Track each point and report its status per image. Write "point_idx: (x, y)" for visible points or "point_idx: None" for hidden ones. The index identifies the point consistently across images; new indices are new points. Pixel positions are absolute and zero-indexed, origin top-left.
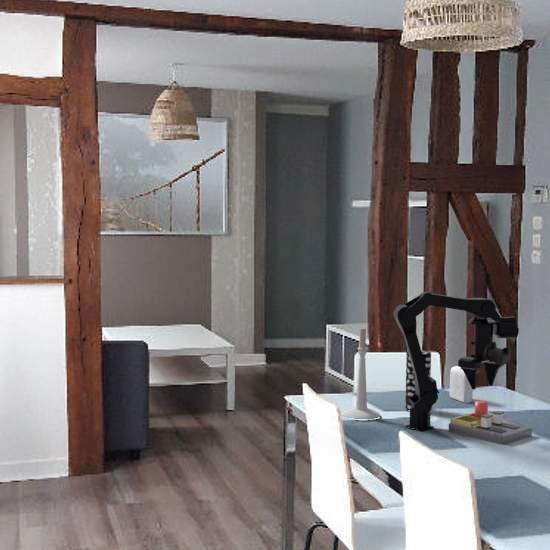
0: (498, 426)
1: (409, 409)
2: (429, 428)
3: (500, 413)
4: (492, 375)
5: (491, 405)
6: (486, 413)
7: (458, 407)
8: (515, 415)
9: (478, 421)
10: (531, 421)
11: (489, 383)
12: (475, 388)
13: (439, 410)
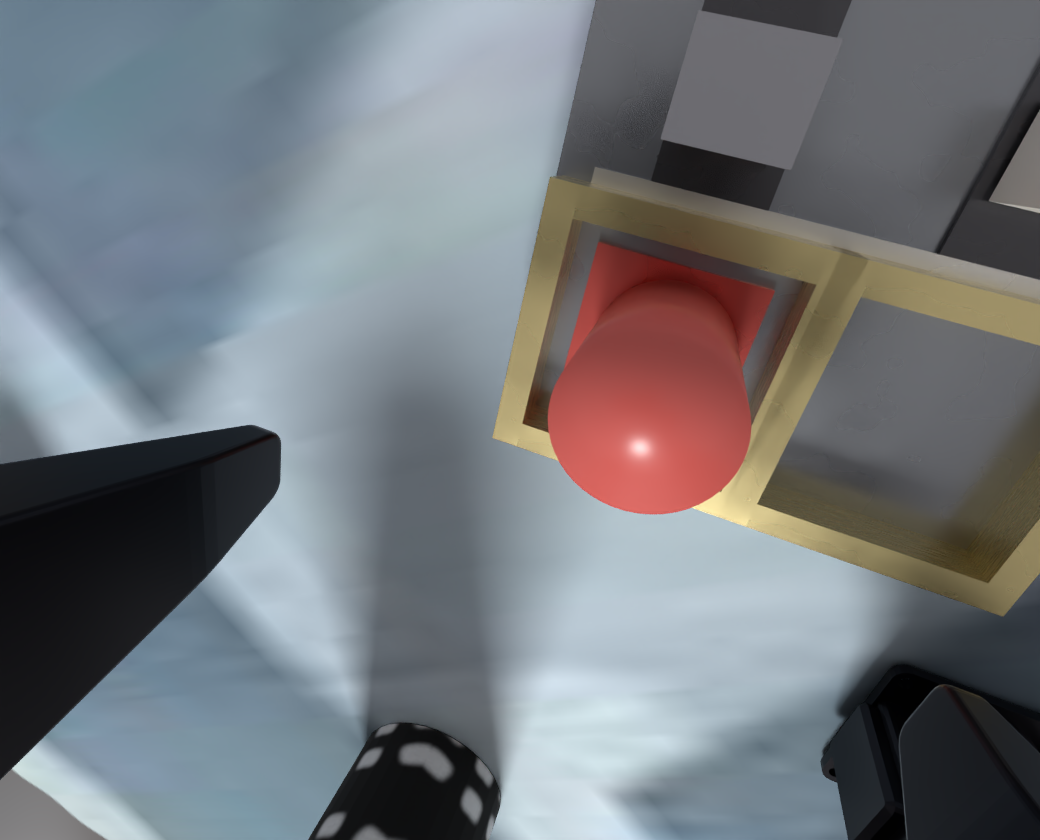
0: (889, 43)
1: (493, 824)
2: (970, 690)
3: (797, 34)
4: (24, 570)
5: (26, 444)
6: (684, 301)
7: (211, 597)
8: (90, 217)
9: (1027, 300)
10: (136, 4)
11: (249, 503)
12: (975, 703)
13: (351, 677)
